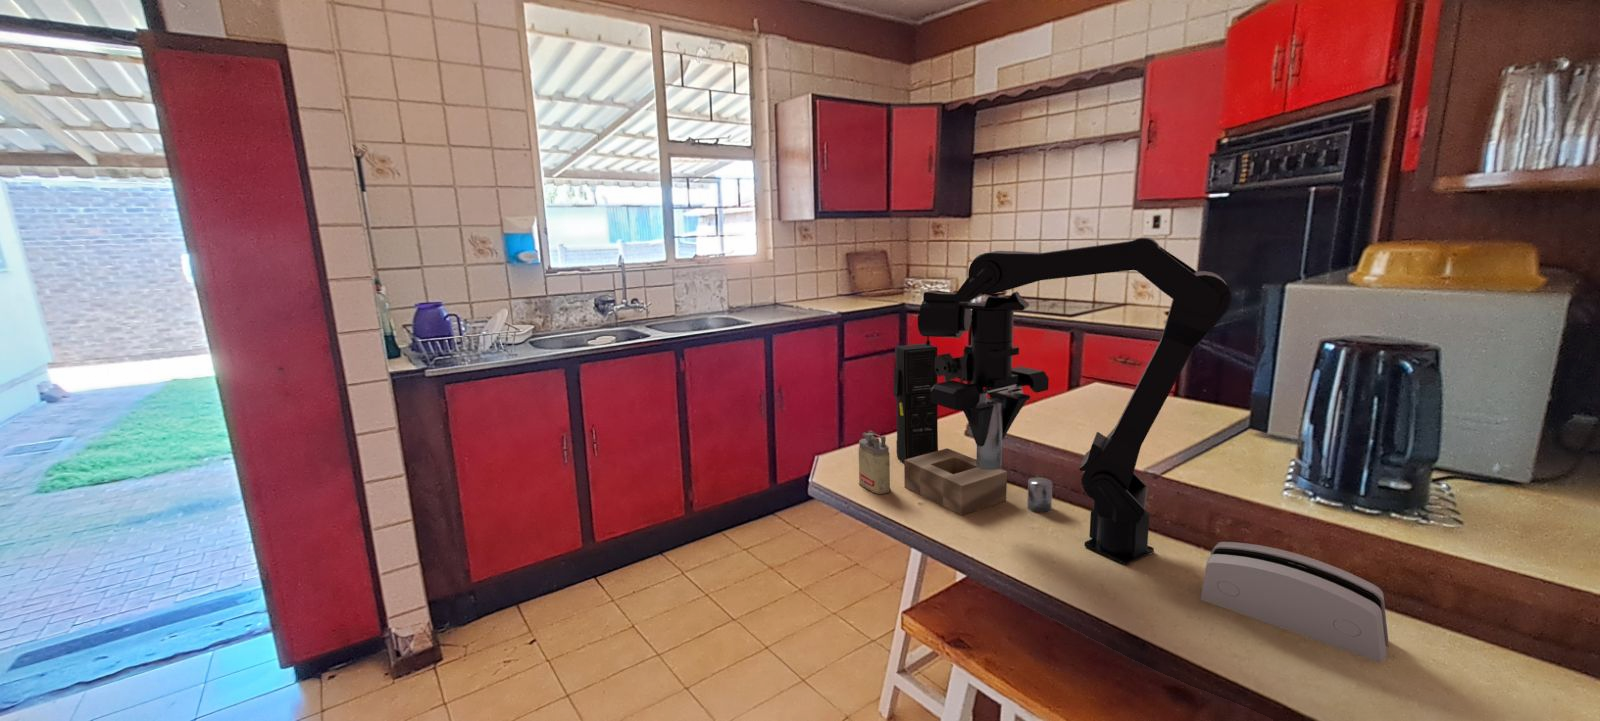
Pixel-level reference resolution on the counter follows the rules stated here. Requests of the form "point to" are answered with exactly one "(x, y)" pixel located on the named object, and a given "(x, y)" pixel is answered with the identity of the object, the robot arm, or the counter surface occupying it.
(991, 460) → the tall pin
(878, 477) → the lighter
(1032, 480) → the short pin
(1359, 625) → the grey curved block
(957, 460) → the block
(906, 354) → the portable radio
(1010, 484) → the counter surface
